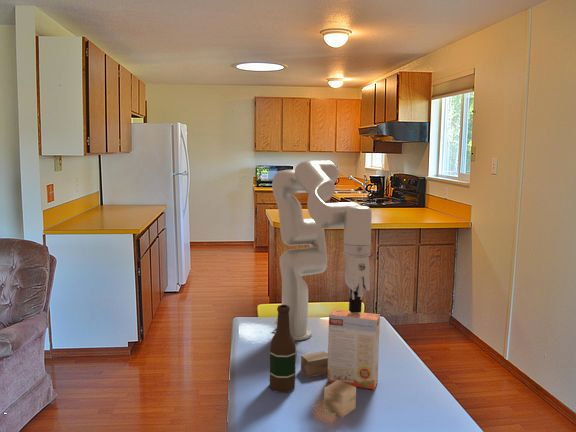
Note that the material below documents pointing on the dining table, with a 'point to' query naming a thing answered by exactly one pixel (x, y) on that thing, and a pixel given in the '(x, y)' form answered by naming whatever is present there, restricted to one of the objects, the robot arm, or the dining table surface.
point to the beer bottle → (282, 354)
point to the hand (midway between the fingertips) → (355, 311)
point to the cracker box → (353, 348)
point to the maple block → (340, 398)
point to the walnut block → (314, 363)
